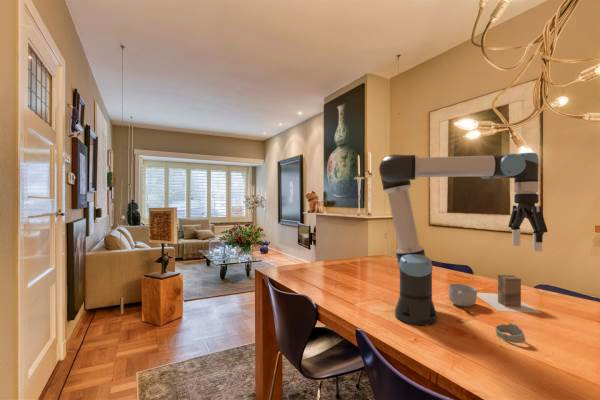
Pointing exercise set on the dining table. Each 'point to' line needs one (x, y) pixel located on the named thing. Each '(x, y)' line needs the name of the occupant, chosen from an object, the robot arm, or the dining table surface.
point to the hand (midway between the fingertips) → (526, 248)
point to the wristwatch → (512, 329)
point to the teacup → (462, 294)
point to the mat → (493, 301)
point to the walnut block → (509, 291)
